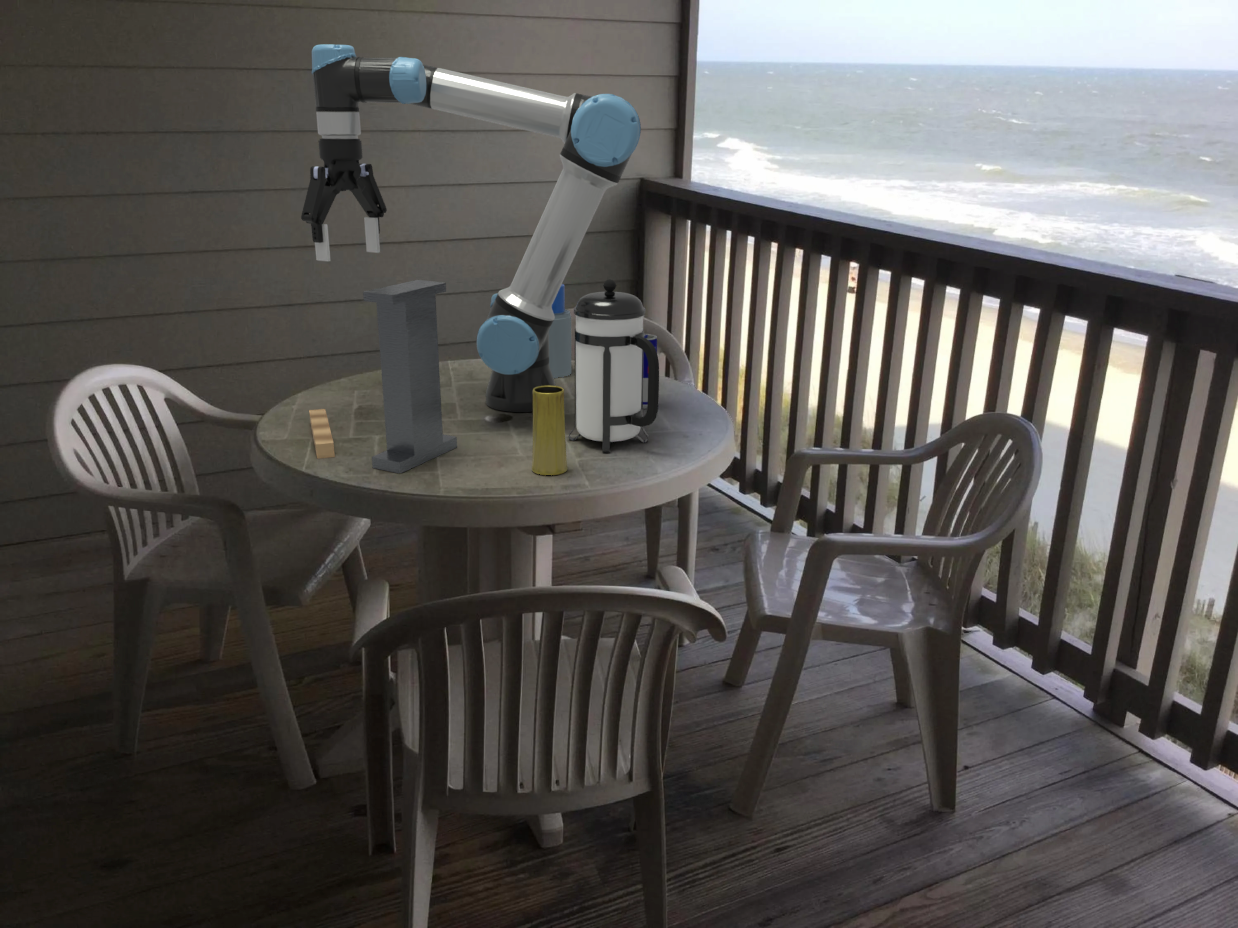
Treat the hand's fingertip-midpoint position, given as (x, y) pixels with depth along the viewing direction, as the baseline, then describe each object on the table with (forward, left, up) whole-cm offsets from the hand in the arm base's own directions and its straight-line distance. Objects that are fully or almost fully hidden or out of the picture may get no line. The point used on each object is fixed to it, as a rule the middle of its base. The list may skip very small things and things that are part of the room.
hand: (349, 256), depth 186 cm
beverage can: (-57, -3, -32) cm, 65 cm away
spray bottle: (-40, -32, -32) cm, 60 cm away
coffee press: (-48, +20, -32) cm, 61 cm away
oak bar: (+6, +13, -32) cm, 35 cm away
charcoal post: (-12, +25, -32) cm, 42 cm away
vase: (-35, +34, -32) cm, 58 cm away
